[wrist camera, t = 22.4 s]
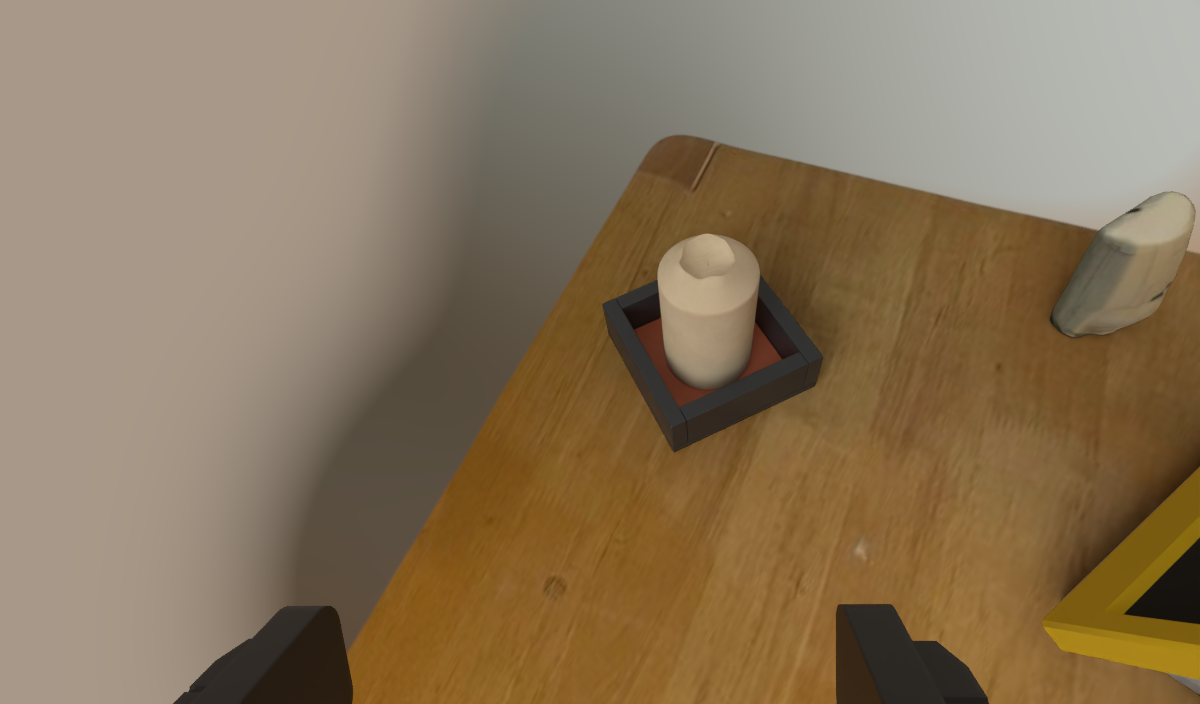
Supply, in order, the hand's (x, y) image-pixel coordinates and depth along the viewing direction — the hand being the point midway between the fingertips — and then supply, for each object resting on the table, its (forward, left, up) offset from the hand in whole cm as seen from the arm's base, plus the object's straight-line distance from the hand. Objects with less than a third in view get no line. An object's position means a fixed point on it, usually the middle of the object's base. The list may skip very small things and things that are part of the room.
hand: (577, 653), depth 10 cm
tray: (+12, +18, -26) cm, 34 cm away
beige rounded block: (+35, +10, -27) cm, 45 cm away
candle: (+12, +18, -26) cm, 33 cm away
